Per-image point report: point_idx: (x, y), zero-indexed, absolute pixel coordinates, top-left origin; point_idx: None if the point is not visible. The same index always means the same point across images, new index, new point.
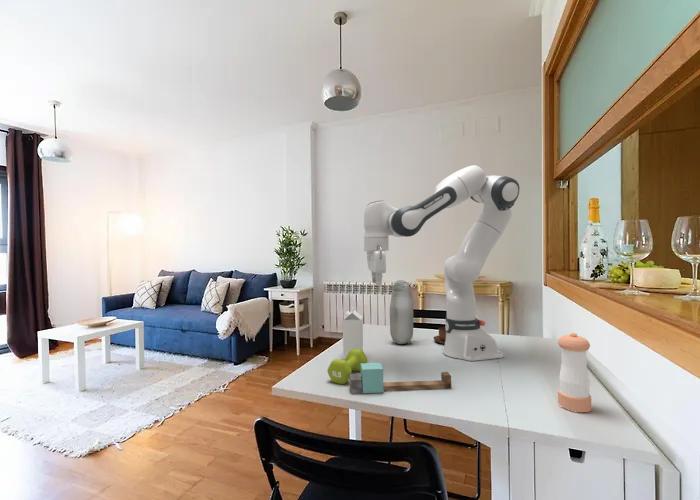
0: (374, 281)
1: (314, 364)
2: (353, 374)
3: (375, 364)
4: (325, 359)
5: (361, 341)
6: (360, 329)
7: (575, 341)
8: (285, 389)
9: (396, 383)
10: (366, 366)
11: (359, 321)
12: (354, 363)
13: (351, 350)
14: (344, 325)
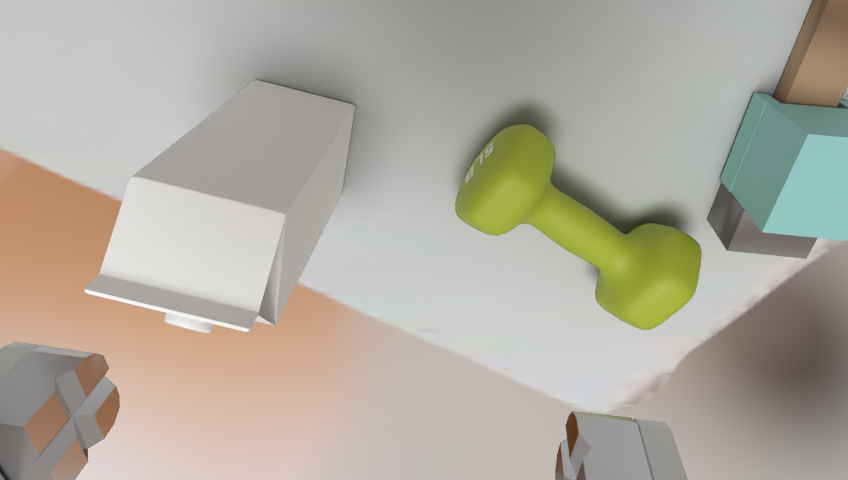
0: (88, 416)
1: (392, 306)
2: (741, 238)
3: (822, 166)
4: (328, 262)
5: (329, 146)
6: (306, 187)
7: None
8: (631, 399)
9: (843, 24)
10: (827, 215)
11: (287, 224)
12: (574, 204)
13: (503, 229)
14: (288, 294)
